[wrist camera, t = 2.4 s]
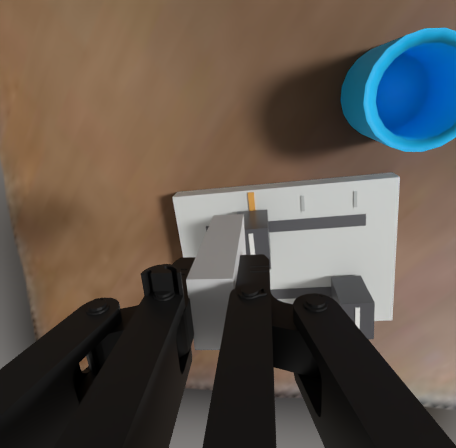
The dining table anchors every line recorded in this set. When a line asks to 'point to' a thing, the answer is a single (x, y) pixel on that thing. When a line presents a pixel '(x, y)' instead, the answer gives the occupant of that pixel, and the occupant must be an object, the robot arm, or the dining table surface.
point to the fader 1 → (257, 233)
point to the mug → (405, 91)
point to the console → (311, 231)
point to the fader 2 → (355, 302)
